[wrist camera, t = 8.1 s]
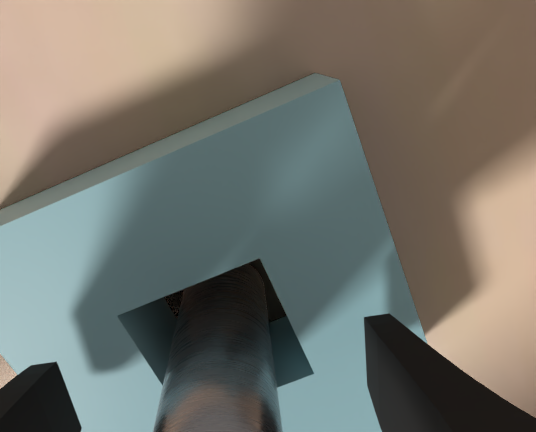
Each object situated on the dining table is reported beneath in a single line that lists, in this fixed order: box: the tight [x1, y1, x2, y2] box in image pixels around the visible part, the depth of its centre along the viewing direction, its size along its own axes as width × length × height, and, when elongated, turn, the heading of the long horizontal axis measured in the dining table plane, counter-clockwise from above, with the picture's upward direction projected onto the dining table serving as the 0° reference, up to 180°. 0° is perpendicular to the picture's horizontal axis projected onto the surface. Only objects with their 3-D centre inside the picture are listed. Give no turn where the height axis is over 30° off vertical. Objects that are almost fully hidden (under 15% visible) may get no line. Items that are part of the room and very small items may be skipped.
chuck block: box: [0, 73, 427, 432], centre depth 12 cm, size 10×10×3 cm
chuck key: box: [153, 263, 283, 432], centre depth 9 cm, size 3×3×10 cm
